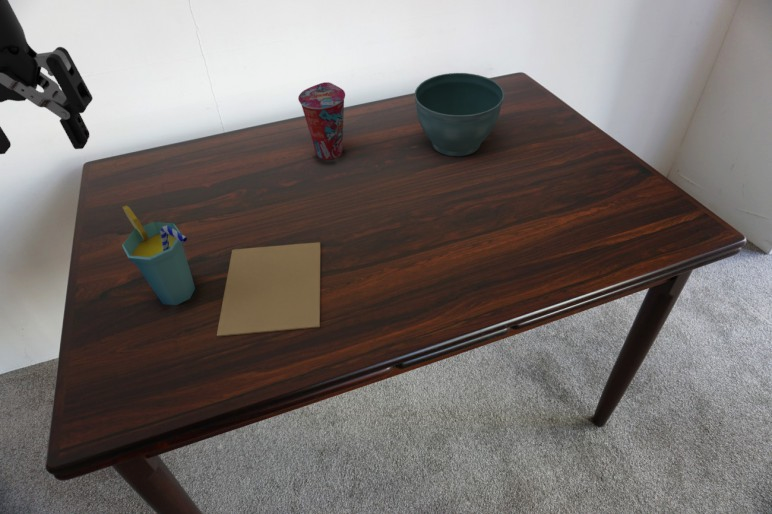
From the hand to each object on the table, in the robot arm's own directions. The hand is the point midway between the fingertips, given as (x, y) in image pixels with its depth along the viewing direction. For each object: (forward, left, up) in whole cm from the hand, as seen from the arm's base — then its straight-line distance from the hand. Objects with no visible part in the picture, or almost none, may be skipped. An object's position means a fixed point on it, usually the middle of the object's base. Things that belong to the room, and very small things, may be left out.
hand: (43, 147), depth 58 cm
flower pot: (+54, +34, -26) cm, 69 cm away
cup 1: (+7, 0, -26) cm, 27 cm away
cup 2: (+29, +35, -26) cm, 53 cm away
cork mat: (+20, 0, -26) cm, 33 cm away
